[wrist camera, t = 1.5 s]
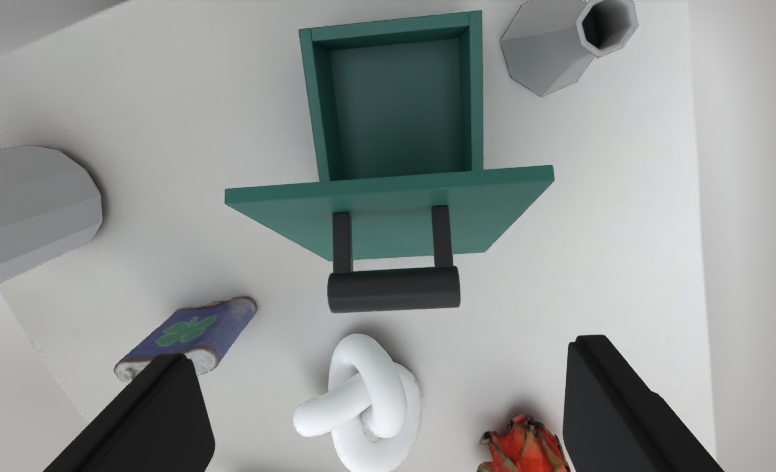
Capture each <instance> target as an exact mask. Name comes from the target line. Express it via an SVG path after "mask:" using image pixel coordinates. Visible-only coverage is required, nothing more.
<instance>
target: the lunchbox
mask: <svg viewBox="0 0 776 472" xmlns="http://www.w3.org/2000/svg"><path fill="white" fill-rule="evenodd" d="M299 38H300V45H301V52H302V59H303V66H304V74H305V81H306V88H307V95H308V102H309V109H310V116H311V123H312V131H313V138H314V145H315V152H316V159H317V166H318V173H319V180H320V182H326V181H340V180H353V179H367V178H381V177H394V176H408V175H422V174H435V173H449V172H463V171H476V170H483V64H482V10H479V11H470V12H460V13H450V14H441V15H431V16H421V17H412V18H402V19H392V20H383V21H373V22H364V23H354V24H344V25H335V26H325V27H315V28H311V29H310V28H306V29H299Z"/></svg>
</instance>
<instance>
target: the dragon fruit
mask: <svg viewBox="0 0 776 472" xmlns="http://www.w3.org/2000/svg"><path fill="white" fill-rule="evenodd" d="M527 419H528V420H529V421H528V422H527ZM510 423H511V424H510ZM509 424H510V427H511V426H512V425H513V428H512V430H511V432H509V433H508V434H507V435H506V436H505V437H502V436H499V435H498V434H497V432H496V431H494V432H490V431H487V432H485V433H484V434H483V435H482V438H481V439H480V444H488V446H489V449H490V451H491V453H492V457H493V462H483V463H482V464H480V465H479V467H478V470H477V472H571V471H570V467H569V465H568V463H567V461H566V459H565V456H564V453H563V450H562V446H560V445H561V444H560V443H559V442H560V441H559V439H558V437H557V436H556V435H555V437H554V436H553V435H552V434H551V433H550V432H549V431H548V430H547V429H546V427H545V426H544V425H543V424H542V423H540V422H537V421H534V419H533V417H531V416H529V415H528V416H526V415H525V414H522V413H521V414H519V415H518V416H517V415H516V416H515V417H514V418H511V419H510V421H509V422H508V424H507V428H508V426H509ZM558 444H559V445H558Z"/></svg>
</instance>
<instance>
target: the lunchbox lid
mask: <svg viewBox="0 0 776 472" xmlns="http://www.w3.org/2000/svg"><path fill="white" fill-rule="evenodd" d="M554 180H555V178H554V170H553V166H552V165H544V166H531V167H517V168H503V169H490V170H476V171H463V172H449V173H435V174H422V175H408V176H394V177H381V178H367V179H353V180H340V181H326V182H313V183H299V184H285V185H272V186H258V187H244V188H231V189H225V204H226V205H228V206H229V207H231V208H233V209H235V210H237V211H239V212H240V213H242V214H244V215H246V216H248V217H250V218H251V219H253V220H255V221H257V222H259V223H261V224H262V225H264V226H266V227H268V228H270V229H272V230H273V231H275V232H277V233H279V234H281V235H282V236H284V237H286V238H288V239H290V240H292V241H293V242H295V243H297V244H299V245H301V246H303V247H304V248H306V249H308V250H310V251H312V252H314V253H315V254H317V255H319V256H321V257H323V258H325V259H326V260H328V261H333V273H331V274H330V276H329V279H328V286H327V296H328V304H329V308H330V310H331V312H332V313H349V312H371V311H392V310H413V309H434V308H455V307H459V306H460V281H459V273H458V269H457V267H456V266H453V254H464V253H481V252H486V251H487V250H488V248H489V247H490V246H491V245H492V244H493V243H494V242H495V241H496V240H497V239H498V238H499V237H500V236H501V235H502V234H503V233H504V232H505V231H506V230H507V229H508V228H509V227H510V226H511V225H512V224H513V223H514V222H515V221H516V220H517V219H518V218H519V217H520V216H521V215H522V214H523V213H524V212H525V211H526V210H527V209H528V207H529V206H530V205H531V204H532V203H533V202H534V201H535V200H536V199H537V198H538V197H539V196H540V195H541V194H542V193H543V192H544V191H545V190H546V189H547V188H548V187H549V186H550V185H551V184H552V183H553V182H554ZM429 255H434V264H435V267H425V268H407V269H389V270H371V271H353V260H360V259H377V258H394V257H412V256H429Z"/></svg>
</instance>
